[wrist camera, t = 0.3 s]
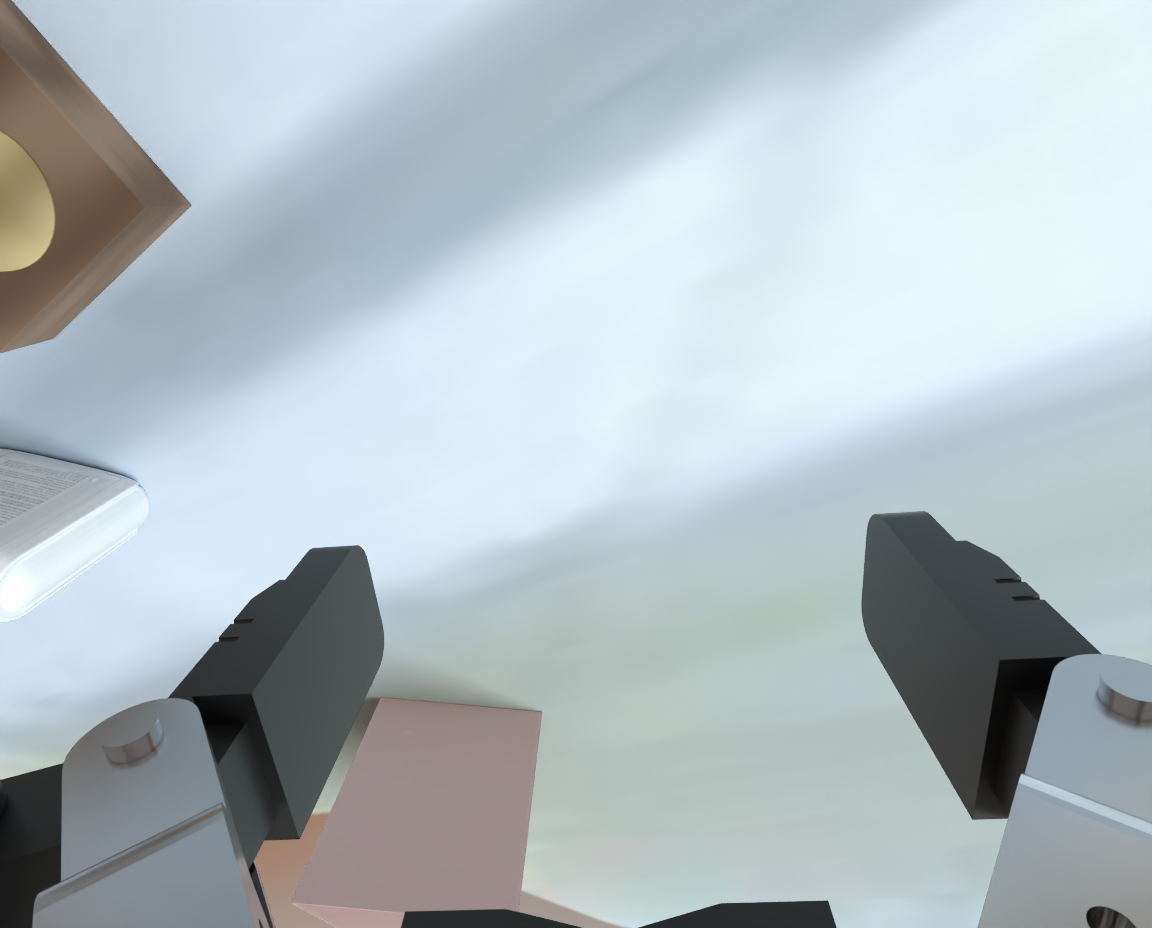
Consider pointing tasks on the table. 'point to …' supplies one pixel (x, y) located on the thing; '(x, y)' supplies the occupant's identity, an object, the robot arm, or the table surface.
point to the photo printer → (58, 525)
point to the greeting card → (427, 816)
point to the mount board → (65, 190)
